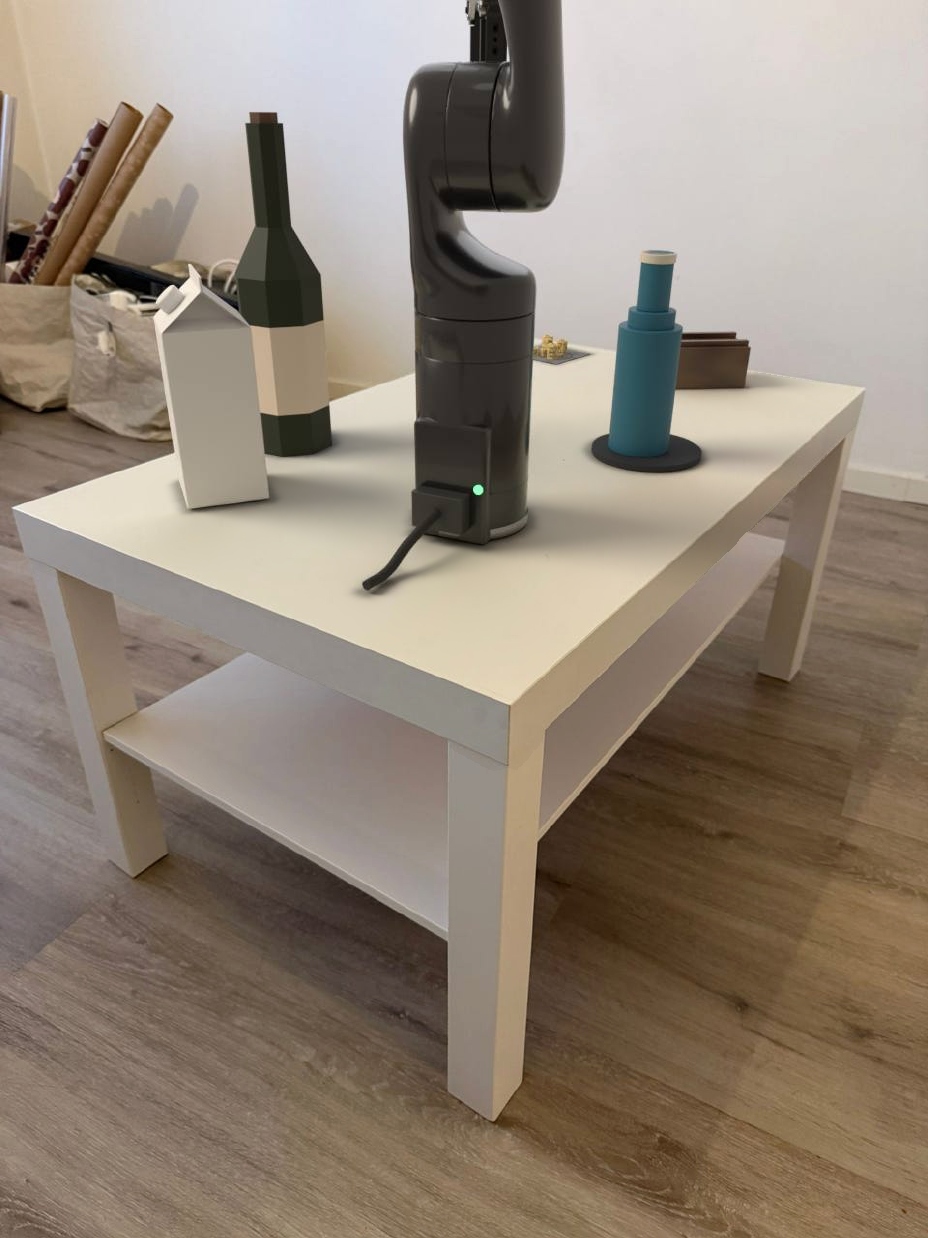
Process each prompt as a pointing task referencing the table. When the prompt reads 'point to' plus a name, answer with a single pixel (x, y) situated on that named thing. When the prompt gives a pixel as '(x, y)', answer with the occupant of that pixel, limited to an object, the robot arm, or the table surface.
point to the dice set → (555, 351)
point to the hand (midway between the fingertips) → (487, 73)
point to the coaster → (676, 458)
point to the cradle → (712, 360)
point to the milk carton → (211, 396)
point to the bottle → (646, 363)
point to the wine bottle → (282, 306)
